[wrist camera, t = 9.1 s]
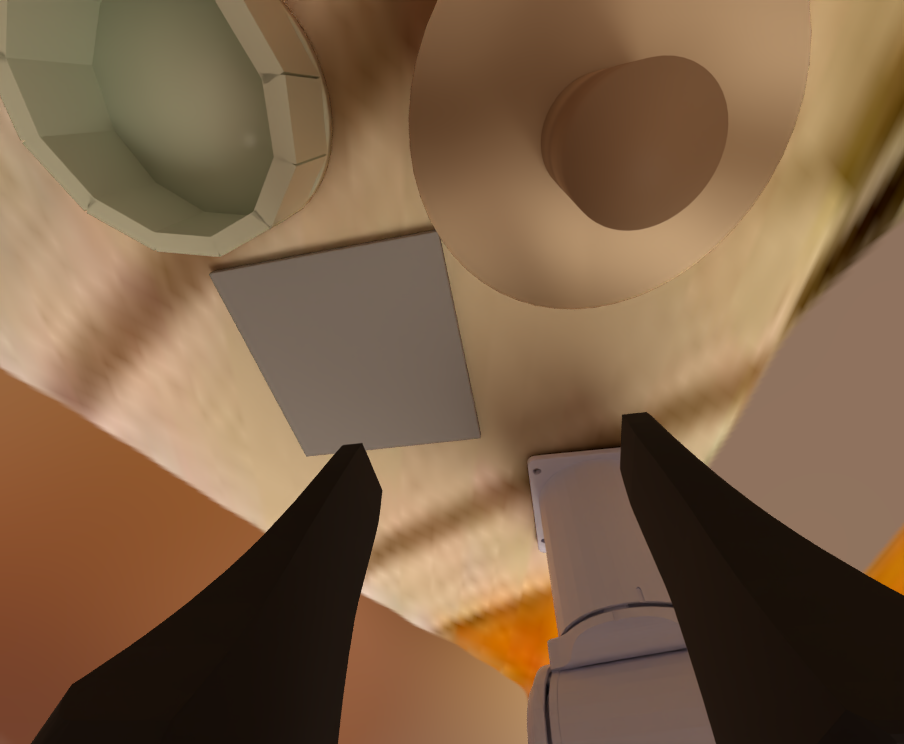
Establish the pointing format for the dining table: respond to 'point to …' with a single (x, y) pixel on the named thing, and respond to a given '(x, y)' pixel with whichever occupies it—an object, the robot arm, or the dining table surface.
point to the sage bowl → (170, 113)
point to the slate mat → (358, 343)
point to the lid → (600, 135)
